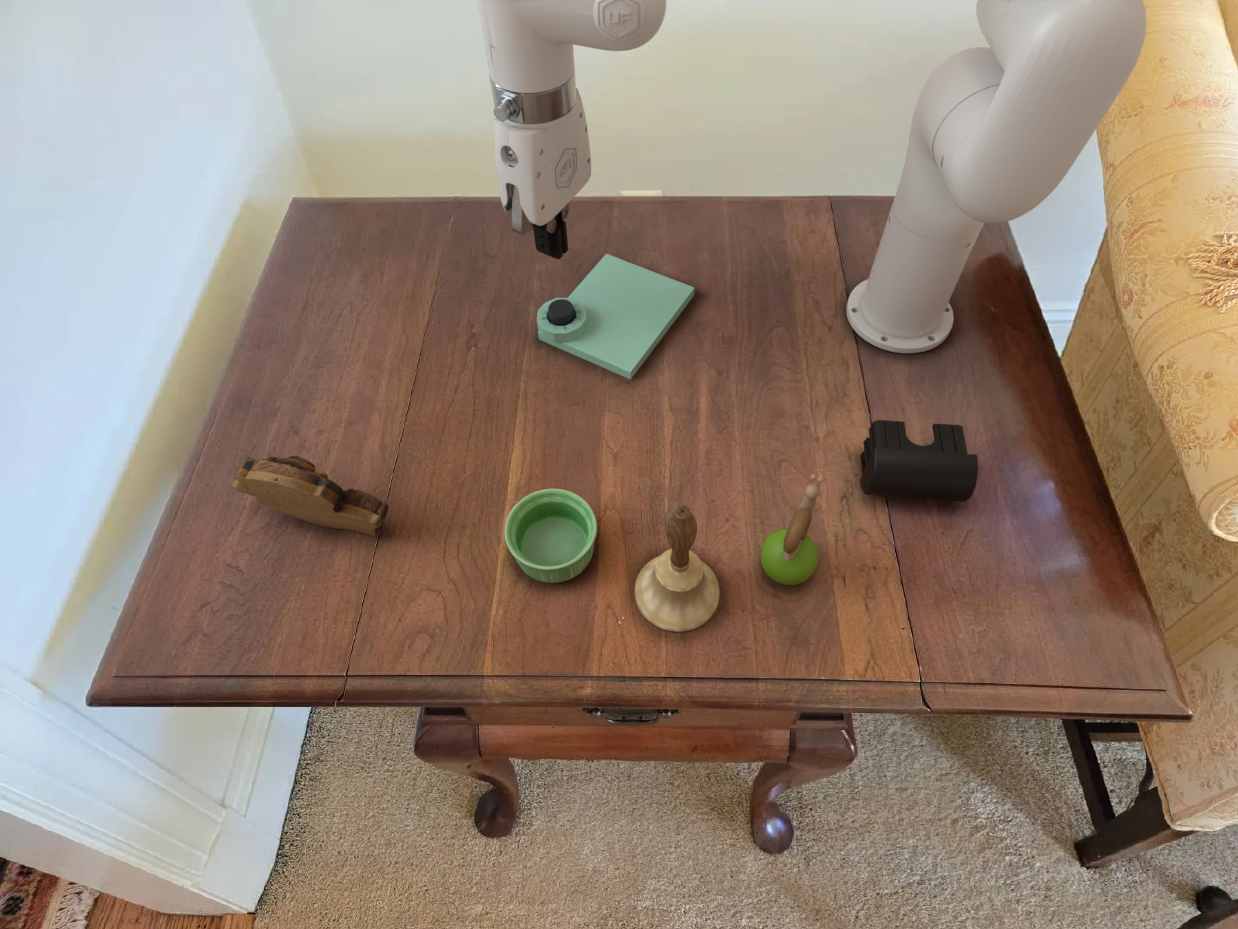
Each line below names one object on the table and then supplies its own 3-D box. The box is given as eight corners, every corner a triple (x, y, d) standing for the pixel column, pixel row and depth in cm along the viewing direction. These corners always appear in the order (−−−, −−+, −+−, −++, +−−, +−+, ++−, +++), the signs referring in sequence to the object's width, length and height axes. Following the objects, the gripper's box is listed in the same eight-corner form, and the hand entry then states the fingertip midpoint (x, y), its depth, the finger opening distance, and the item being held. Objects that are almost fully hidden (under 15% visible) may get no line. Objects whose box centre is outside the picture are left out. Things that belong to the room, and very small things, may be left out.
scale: (600, 259, 103) (599, 241, 100) (694, 295, 98) (695, 277, 96) (530, 339, 95) (527, 321, 92) (628, 382, 91) (628, 365, 88)
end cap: (860, 509, 80) (876, 473, 75) (855, 453, 84) (870, 415, 79) (959, 516, 80) (983, 481, 74) (949, 459, 84) (971, 421, 78)
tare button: (558, 305, 94) (557, 295, 93) (579, 313, 93) (578, 304, 92) (544, 320, 93) (543, 311, 92) (565, 329, 92) (564, 320, 91)
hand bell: (713, 639, 73) (729, 563, 60) (627, 623, 74) (623, 545, 61) (724, 561, 77) (741, 474, 64) (643, 547, 78) (643, 459, 65)
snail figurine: (822, 548, 78) (848, 484, 68) (802, 602, 75) (827, 543, 65) (770, 529, 79) (789, 463, 69) (749, 581, 76) (765, 520, 66)
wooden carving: (406, 511, 82) (379, 458, 73) (390, 549, 79) (361, 498, 71) (263, 486, 84) (221, 431, 75) (243, 522, 81) (198, 470, 73)
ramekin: (515, 509, 81) (509, 487, 78) (601, 511, 81) (599, 488, 77) (505, 588, 76) (498, 568, 73) (596, 590, 76) (594, 570, 72)
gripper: (521, 146, 65) (542, 305, 80) (612, 61, 72) (616, 223, 87) (449, 120, 67) (484, 280, 82) (545, 41, 74) (561, 202, 89)
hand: (552, 250), depth 85 cm, fingers closed
